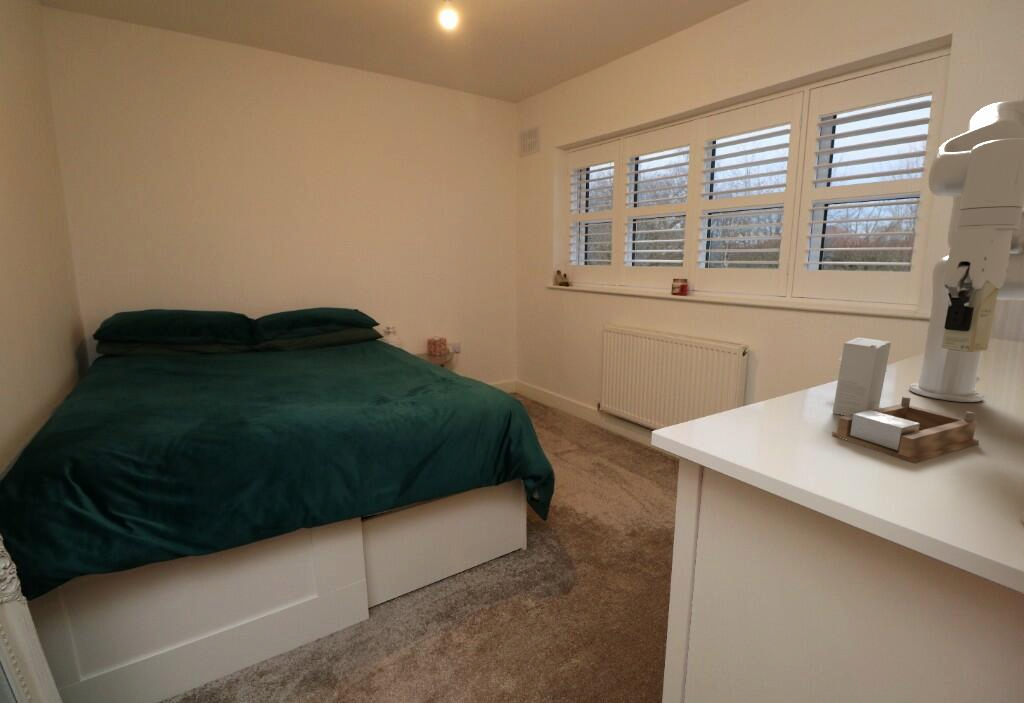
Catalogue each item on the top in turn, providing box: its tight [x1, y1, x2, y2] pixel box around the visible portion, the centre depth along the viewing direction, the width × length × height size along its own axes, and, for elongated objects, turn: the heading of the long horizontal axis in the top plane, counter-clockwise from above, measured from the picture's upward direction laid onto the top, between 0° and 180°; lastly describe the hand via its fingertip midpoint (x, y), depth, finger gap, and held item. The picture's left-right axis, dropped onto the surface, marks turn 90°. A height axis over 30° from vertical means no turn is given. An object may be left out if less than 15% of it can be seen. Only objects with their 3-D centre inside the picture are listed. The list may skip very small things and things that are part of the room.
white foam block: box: [850, 410, 920, 450], centre depth 81 cm, size 5×7×4 cm
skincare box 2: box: [942, 280, 998, 352], centre depth 82 cm, size 6×4×12 cm
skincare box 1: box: [832, 336, 892, 416], centre depth 96 cm, size 8×6×15 cm
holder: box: [831, 396, 980, 464], centre depth 83 cm, size 19×13×5 cm, turn 115°
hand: (966, 328), depth 83 cm, fingers closed on skincare box 2, 6 cm apart
